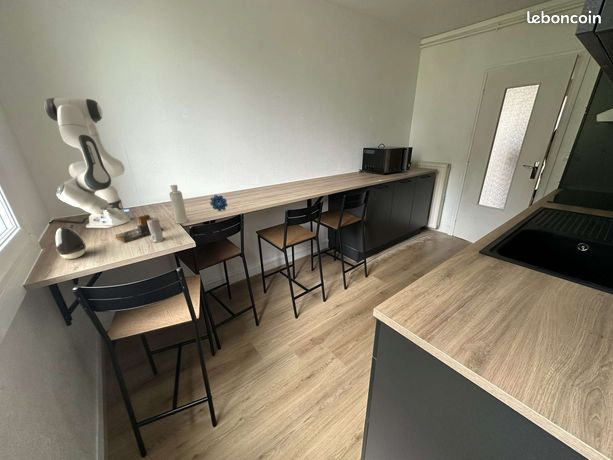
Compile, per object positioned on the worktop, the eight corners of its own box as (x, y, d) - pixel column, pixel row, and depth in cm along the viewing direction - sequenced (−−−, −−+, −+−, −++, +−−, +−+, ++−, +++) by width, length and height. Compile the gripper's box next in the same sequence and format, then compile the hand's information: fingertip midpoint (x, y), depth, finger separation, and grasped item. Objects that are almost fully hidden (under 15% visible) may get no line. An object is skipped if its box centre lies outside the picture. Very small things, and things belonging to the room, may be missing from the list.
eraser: (141, 232, 141) (137, 218, 138) (138, 230, 144) (134, 217, 141) (156, 227, 147) (152, 214, 144) (153, 226, 150) (149, 213, 146)
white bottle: (175, 223, 156) (165, 184, 146) (177, 220, 162) (168, 181, 152) (186, 223, 157) (177, 183, 147) (188, 219, 163) (180, 181, 153)
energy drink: (161, 237, 138) (155, 216, 133) (165, 239, 135) (160, 219, 130) (151, 240, 134) (144, 219, 130) (155, 243, 131) (149, 222, 127)
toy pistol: (124, 242, 133) (123, 240, 132) (116, 237, 139) (115, 234, 139) (163, 230, 147) (162, 228, 146) (153, 226, 154) (153, 223, 153)
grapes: (213, 214, 171) (210, 197, 167) (210, 211, 177) (207, 195, 172) (230, 211, 177) (227, 194, 172) (227, 208, 182) (224, 192, 177)
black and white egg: (94, 250, 125) (82, 222, 119) (77, 261, 115) (64, 231, 109) (73, 251, 125) (61, 222, 119) (55, 262, 115) (40, 231, 109)
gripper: (109, 204, 120) (137, 217, 131) (95, 197, 131) (122, 210, 142) (101, 216, 118) (130, 228, 129) (87, 208, 130) (115, 219, 141)
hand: (126, 218), depth 136 cm, fingers open, 8 cm apart
